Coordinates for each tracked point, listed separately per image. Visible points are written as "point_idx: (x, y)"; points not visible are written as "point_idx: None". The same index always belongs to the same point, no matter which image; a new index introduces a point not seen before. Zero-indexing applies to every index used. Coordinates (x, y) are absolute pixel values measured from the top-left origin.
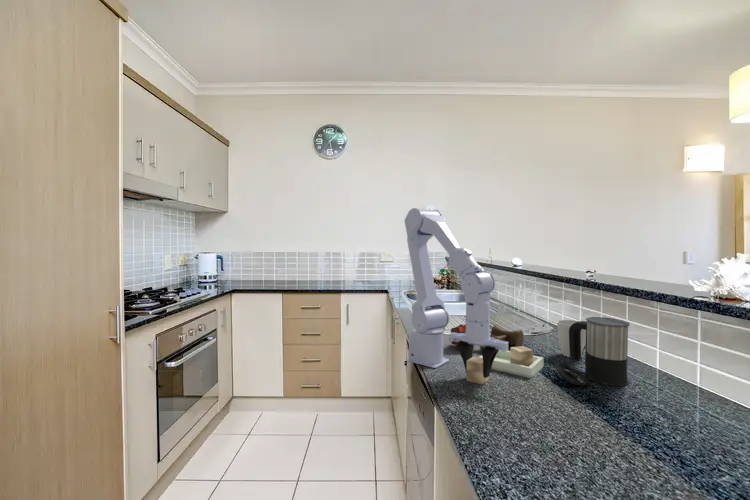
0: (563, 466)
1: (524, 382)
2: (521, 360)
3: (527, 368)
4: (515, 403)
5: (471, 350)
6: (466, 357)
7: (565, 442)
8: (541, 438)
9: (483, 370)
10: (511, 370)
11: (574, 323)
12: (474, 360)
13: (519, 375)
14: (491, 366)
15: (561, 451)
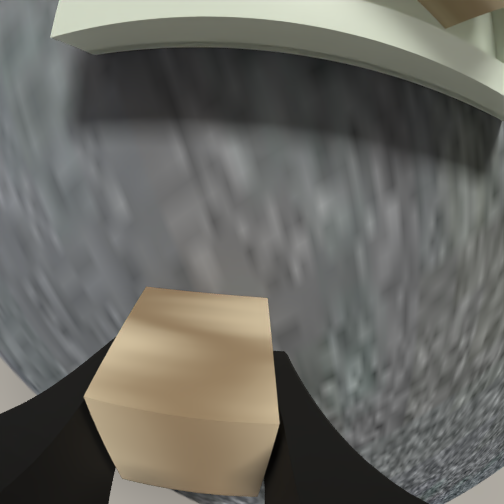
0: (435, 499)
1: (479, 211)
2: (499, 4)
3: None
4: (410, 436)
5: (61, 476)
6: (109, 491)
7: (463, 470)
8: (429, 486)
9: None
10: (408, 73)
11: None
12: (165, 471)
13: (447, 93)
14: (311, 398)
15: (446, 486)
